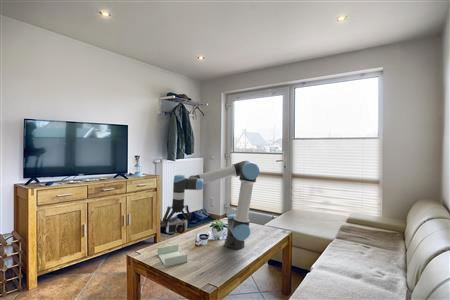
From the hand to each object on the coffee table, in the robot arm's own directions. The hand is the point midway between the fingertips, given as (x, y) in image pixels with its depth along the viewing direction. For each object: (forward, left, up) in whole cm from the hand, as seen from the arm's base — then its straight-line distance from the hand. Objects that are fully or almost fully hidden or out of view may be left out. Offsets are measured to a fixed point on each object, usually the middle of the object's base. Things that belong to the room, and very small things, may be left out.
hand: (176, 230), depth 160 cm
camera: (-1, 0, -1) cm, 1 cm away
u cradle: (+3, +1, -17) cm, 18 cm away
